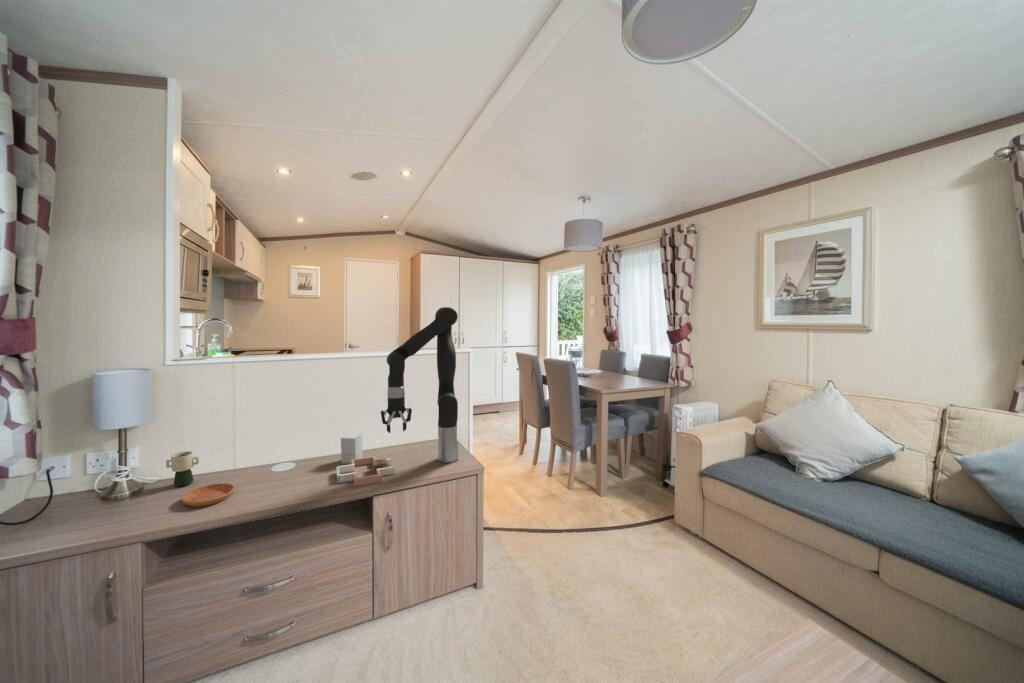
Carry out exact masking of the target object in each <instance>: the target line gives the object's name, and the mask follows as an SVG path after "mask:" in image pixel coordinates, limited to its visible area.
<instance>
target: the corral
mask: <svg viewBox="0 0 1024 683" xmlns="http://www.w3.org/2000/svg"><path fill="white" fill-rule="evenodd" d="M385 459H386V460H387V463H388V467H386V468H379V469H377V474H375V475H374V474H373V475H365V476H361V477H357V476H358V475H357V472H356V466H363V465H372V464H373V460H378V459H377V457H376V455H373V456H365V457H363V458H357V459H351V464H345V465H343V464H342V465H339V466H336V484H340V483H347V482H352V481H353V486H354V487H358V486H359V487H360V486H366V485H371V484H376V483H381V482H383V481H382V477H383V476H388V475H395V466H394V465H393V466H392V458H385Z"/></svg>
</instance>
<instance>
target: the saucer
mask: <svg viewBox="0 0 1024 683" xmlns="http://www.w3.org/2000/svg"><path fill="white" fill-rule="evenodd" d="M234 491H235V486H234V484H231V483H228V482H227V483H221V482H220V483H213V484H206V485H203V486H199V487H196V488H194V489H191V490H189V491H187V492H186V493H185V494H183V495H182V497H181V502H182V503H183V504H184V505H187V506H189V507H192V508H199V507H200V508H201V507H202V508H203V507H207V506H211V505H215V504H218V503H221V502H222V501H224V500H227V498H229V497H230V496H231V495H232V494H233V493H234Z"/></svg>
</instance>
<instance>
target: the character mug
mask: <svg viewBox="0 0 1024 683" xmlns="http://www.w3.org/2000/svg"><path fill="white" fill-rule="evenodd" d="M170 458H171V459H166V460H165V468H168V469H169V468H171V471H172V472H174V480H173V486H174V487H184V486H186V485H189V484H192V482H194V475H193V472H192V469H193V468H194V465H198V464H200V457H199V456H194V451H192V450H191V451H189V450H188V451H187V450H186V451H181V452H177V453H173V454H171V456H170Z"/></svg>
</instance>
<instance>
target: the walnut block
mask: <svg viewBox="0 0 1024 683" xmlns="http://www.w3.org/2000/svg"><path fill="white" fill-rule="evenodd" d="M386 459H387V458H382V459H377V460H373V463H372V472H373V475H377V469H379V468H386V467H389V466H388V463H387V460H386Z"/></svg>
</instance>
